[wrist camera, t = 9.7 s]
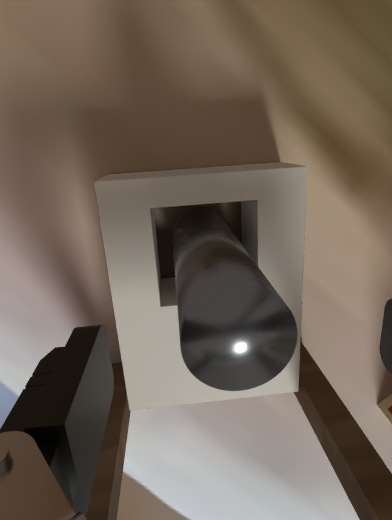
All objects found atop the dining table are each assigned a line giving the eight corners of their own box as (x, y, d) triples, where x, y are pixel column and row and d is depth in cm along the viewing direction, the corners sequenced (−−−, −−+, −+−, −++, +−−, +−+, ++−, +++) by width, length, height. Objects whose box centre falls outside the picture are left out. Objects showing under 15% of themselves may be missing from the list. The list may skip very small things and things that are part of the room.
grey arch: (98, 332, 23) (-13, 656, 8) (307, 312, 24) (527, 574, 9) (108, 384, 24) (24, 739, 10) (304, 363, 25) (494, 661, 11)
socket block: (107, 174, 20) (94, 182, 16) (280, 162, 20) (307, 166, 16) (135, 368, 24) (129, 410, 20) (277, 353, 24) (298, 391, 21)
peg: (174, 264, 22) (184, 396, 10) (169, 210, 21) (175, 293, 9) (228, 259, 22) (295, 384, 11) (226, 205, 21) (299, 281, 10)
